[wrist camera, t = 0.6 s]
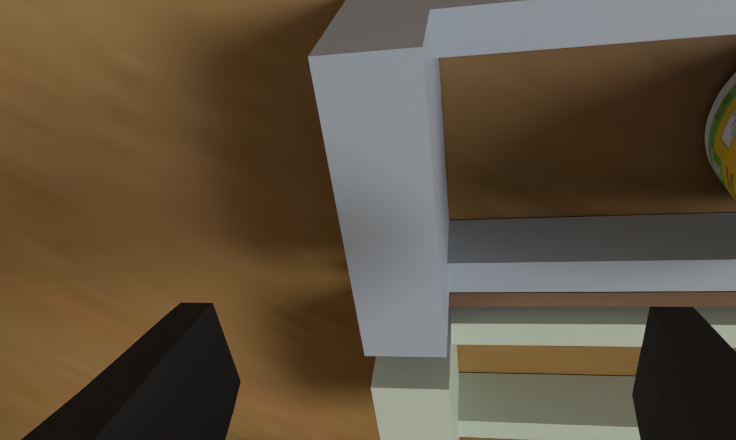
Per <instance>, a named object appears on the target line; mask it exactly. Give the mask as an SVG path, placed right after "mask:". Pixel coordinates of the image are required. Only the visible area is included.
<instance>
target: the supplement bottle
mask: <svg viewBox="0 0 736 440" xmlns="http://www.w3.org/2000/svg"><path fill="white" fill-rule="evenodd" d="M705 148H706V153H707V157H708V159H709V162H710V164H711V166H712V168H713V170H714V172H715V173H716V175H717V176H718V178H719V180H720V181H721V182H722V184H723V185H724V186H725V188H726V189H727V191H728V192H729V193H730V195H731V196H732V197H733V199H734V200H735V202H736V72H735V73H734V74H733V75H732V77H731V78H730V79H729V80H728V81H727V83H726V84H725V85H724V87H723V88H722V90H721V91H720V92H719V94H718V96H717V97H716V99H715V101H714V103H713V105H712V108H711V110H710V113H709V116H708V119H707V123H706V128H705Z"/></svg>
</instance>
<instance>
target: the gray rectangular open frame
mask: <svg viewBox="0 0 736 440" xmlns="http://www.w3.org/2000/svg"><path fill="white" fill-rule="evenodd" d="M730 34H736V0H345V2H344V3H343V5H342V6H341V8H340V9H339V11H338V12H337V14H336V15H335V17H334V18H333V20H332V21H331V23H330V24H329V26H328V27H327V29H326V30H325V32H324V33H323V35H322V36H321V38H320V39H319V41H318V42H317V44H316V45H315V47H314V48H313V50H312V51H311V53H310V54H309V56H308V60H309V65H310V71H311V76H312V81H313V87H314V92H315V97H316V102H317V108H318V113H319V118H320V123H321V129H322V134H323V139H324V144H325V150H326V155H327V160H328V166H329V171H330V176H331V181H332V187H333V192H334V197H335V202H336V208H337V213H338V218H339V224H340V229H341V234H342V239H343V245H344V250H345V255H346V260H347V266H348V271H349V276H350V281H351V287H352V292H353V297H354V303H355V308H356V313H357V318H358V324H359V329H360V334H361V339H362V345H363V350H364V355H365V356H398V357H447V336H448V310H449V292H628V291H736V213H700V214H664V215H628V216H592V217H556V218H520V219H484V220H449V210H448V194H447V179H446V163H445V147H444V131H443V115H442V99H441V83H440V67H439V58H444V57H457V56H469V55H482V54H494V53H506V52H519V51H531V50H544V49H556V48H569V47H581V46H593V45H606V44H618V43H631V42H643V41H656V40H668V39H681V38H693V37H705V36H718V35H730Z"/></svg>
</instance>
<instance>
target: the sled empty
mask: <svg viewBox="0 0 736 440" xmlns="http://www.w3.org/2000/svg"><path fill="white" fill-rule="evenodd" d="M649 308H650V307H449V310H448V336H447V357H398V356H376V359H375V365H374V371H373V377H372V383H371V392H372V397H373V403H374V408H375V413H376V418H377V424H378V429H379V434H380V439H381V440H459V437H480V438H504V439H528V440H641V439H640V434H639V429H638V424H637V419H636V413H635V408H634V403H633V397H632V392H633V387H634V382H635V377H636V376H593V375H545V374H498V373H459V369H458V353H457V344H466V345H548V346H631V347H642V343H643V338H644V333H645V328H646V323H647V318H648V313H649ZM694 308H695V309H696V310H697V311H698V312H699V313H700V314H701V315H702V316H703V317H704V318H705V319H706V321H707V322H708V323H709V324H710V325H711V326H712V327H713V328H714V329H715V330H716V331H717V332H718V333H719V334H720V335H721V337H722V338H723V339H724V340H725V341H726V342H727V343H728V344H729V345H730V346H731V347H732V348H736V307H694Z"/></svg>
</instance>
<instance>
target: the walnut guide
mask: <svg viewBox="0 0 736 440" xmlns="http://www.w3.org/2000/svg"><path fill="white" fill-rule="evenodd" d="M650 306H655V307H736V291H628V292H449V307H650Z"/></svg>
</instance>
